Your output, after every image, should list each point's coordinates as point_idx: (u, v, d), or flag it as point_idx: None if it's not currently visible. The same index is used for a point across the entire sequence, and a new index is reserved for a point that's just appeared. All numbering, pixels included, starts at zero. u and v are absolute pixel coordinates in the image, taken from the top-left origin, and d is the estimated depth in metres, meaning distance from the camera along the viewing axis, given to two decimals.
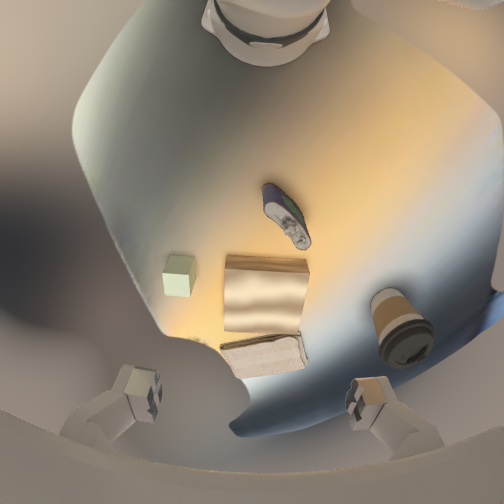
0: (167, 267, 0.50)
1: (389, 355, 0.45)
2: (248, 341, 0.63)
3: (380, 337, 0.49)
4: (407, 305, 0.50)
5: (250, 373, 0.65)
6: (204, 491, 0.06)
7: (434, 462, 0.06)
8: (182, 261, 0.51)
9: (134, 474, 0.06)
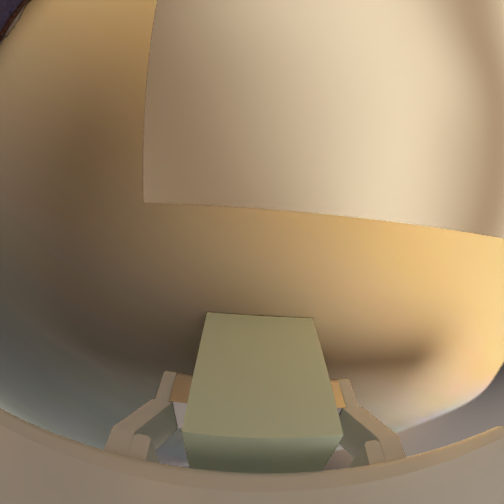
0: None
1: None
2: None
3: None
4: None
5: None
6: (204, 491, 0.06)
7: (434, 462, 0.06)
8: None
9: (134, 474, 0.06)
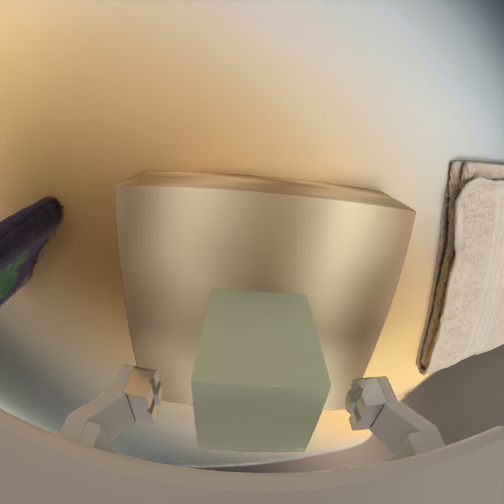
0: None
1: None
2: (434, 308, 0.20)
3: None
4: None
5: None
6: (204, 491, 0.06)
7: (434, 462, 0.06)
8: None
9: (133, 474, 0.06)
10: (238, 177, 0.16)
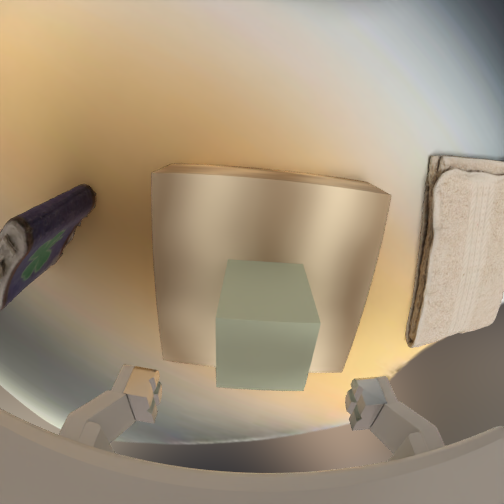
0: None
1: None
2: (419, 285, 0.23)
3: None
4: None
5: (493, 300, 0.22)
6: (204, 491, 0.06)
7: (434, 462, 0.06)
8: None
9: (134, 474, 0.06)
10: (248, 169, 0.19)
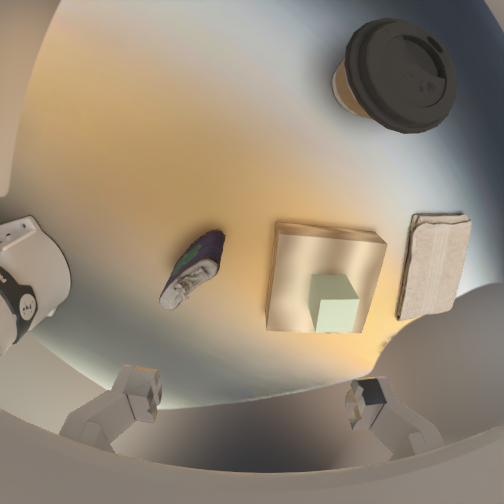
0: (313, 320, 0.35)
1: (416, 121, 0.20)
2: (403, 284, 0.42)
3: None
4: (341, 67, 0.25)
5: (449, 294, 0.41)
6: (204, 491, 0.06)
7: (434, 462, 0.06)
8: (312, 295, 0.36)
9: (134, 474, 0.06)
10: (318, 228, 0.38)
